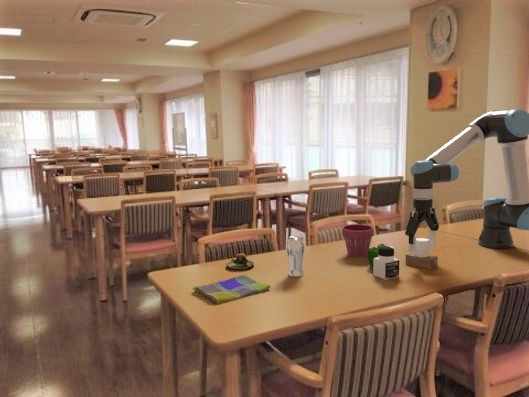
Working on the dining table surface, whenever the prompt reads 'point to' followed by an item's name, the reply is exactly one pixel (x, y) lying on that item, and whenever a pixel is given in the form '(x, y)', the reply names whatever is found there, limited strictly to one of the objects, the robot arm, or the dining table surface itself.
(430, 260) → the walnut base block
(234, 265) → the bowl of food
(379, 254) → the medicine bottle
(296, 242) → the beer glass
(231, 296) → the dish towel
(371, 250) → the bell pepper
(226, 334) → the dining table surface
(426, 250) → the white cup
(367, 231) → the plant pot
